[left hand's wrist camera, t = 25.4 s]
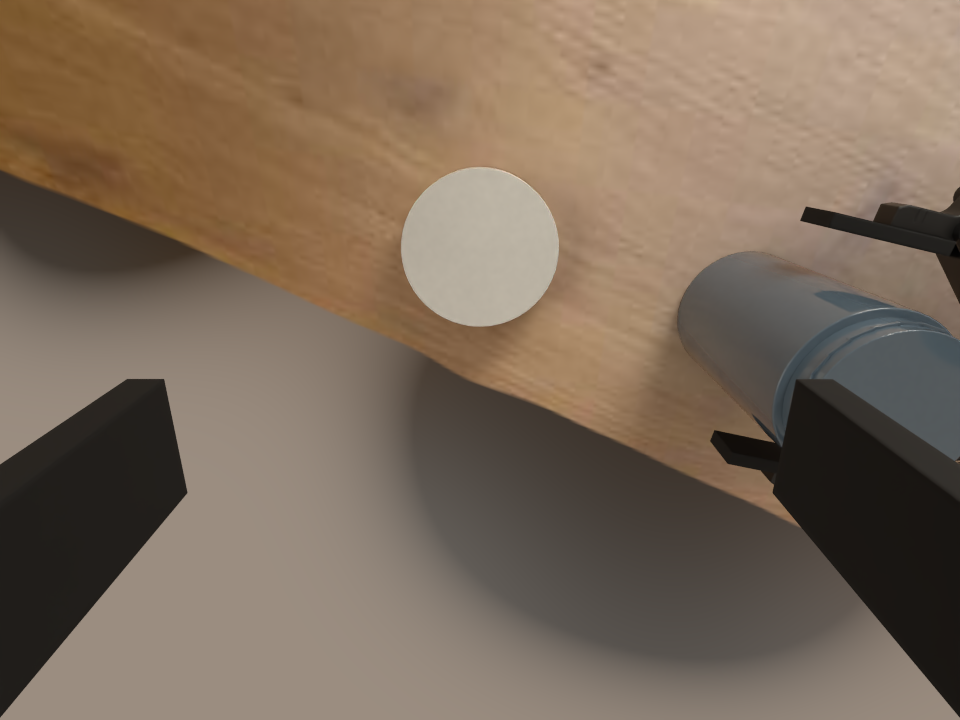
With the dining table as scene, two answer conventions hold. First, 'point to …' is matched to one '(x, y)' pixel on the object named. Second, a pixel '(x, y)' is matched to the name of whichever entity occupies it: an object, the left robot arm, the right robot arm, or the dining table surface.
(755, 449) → the right robot arm
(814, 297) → the jar
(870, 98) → the dining table surface
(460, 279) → the lid
